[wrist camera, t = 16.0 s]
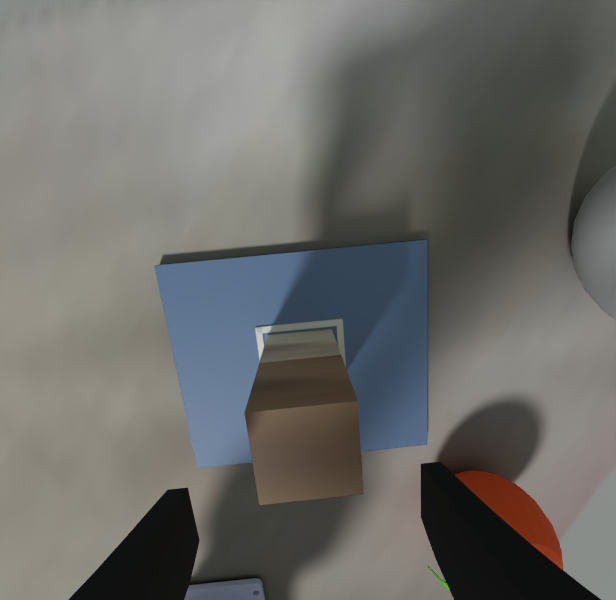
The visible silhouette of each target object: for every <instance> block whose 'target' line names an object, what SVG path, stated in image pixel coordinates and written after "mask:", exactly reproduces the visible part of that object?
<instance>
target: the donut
mask: <svg viewBox="0 0 616 600" xmlns="http://www.w3.org/2000/svg"><path fill="white" fill-rule="evenodd" d="M571 251H572V257H573V262H574V268H575V271H576V273H577V275H578V277H579V279H580V281H581V283H582V285H583V287H584V289H585V291H586V292H587V293H588V294H589V295H590V296H591V298H592V299H593V300H594V301H595V302H596V303H597V304H598V306H599V307H600V308H601V309H602V310H603V311H604V312H605V313H606V314H608V315H609V316H611V317H612V318H614V319H615V320H616V165H614V166H613V167H611V168H610V169H609V170H608V171H607V172H606V173H605V174H604V175H603V176H602V177H601V178H600V180H599V181H598V182H597V183H596V184H595V185H594V187H593V188H592V189H591V190H590V191H589V193H588V194H587V195H586V196H585V198H584V200H583V202H582V205H581V207H580V209H579V211H578V214H577V216H576V218H575V220H574V226H573V234H572V242H571Z"/></svg>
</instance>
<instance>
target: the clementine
mask: <svg viewBox="0 0 616 600" xmlns="http://www.w3.org/2000/svg"><path fill="white" fill-rule="evenodd" d="M455 476H456V477H457V478H458V479H460V480H461V481H462V482H463V483H464V484H465V485H466V486H467V487H468V488H469V489H470V490H471V491H472V492H473V493H474V494H475V495H477V496H478V497H479V498H480V499H481V500H482V501H483V502H484V503H485V504H486V505H487V506H488V507H490V508H491V509H492V510H493V511H494V512H495V513H496V514H497V515H498V516H500V517H501V518H502V519H503V520H504V521H505V522H506V523H508V524H509V525H510V526H511V527H512V528H513V529H514V530H515V531H517V532H518V533H519V534H520V535H521V536H522V537H524V538H525V539H526V540H527V541H528V542H529V543H531V544H532V545H533V546H534V547H535V548H536V549H538V550H539V551H540V552H541V553H542V554H544V555H545V556H546V557H547V558H549V559H550V560H551V561H552V562H553V563H555V564H556V565H557V566H558V567H559V568H561V569H562V570H563V562H562V553H561V548H560V544H559V541H558V538H557V536H556V533H555V531H554V529H553V526H552V524H551V523H550V521H549V520H548V518H547V517H546V516H545V514H544V513H543V511H542V510H541V509H540V507H539V506H538V504H537V503H536V501H535V500H534V499H533V498H531V497H530V496H529V495H528V494H527V493H526V492H525V491H524V490H523V489H521V488H520V487H518V486H517V485H516V484H514V483H513V482H511V481H509V480H507V479H505V478H504V477H502V476H499V475H496V474H494V473H490V472H485V471H477V470H470V471H463V472H460V473H458V474H455ZM428 567H429V566H428ZM429 569H430V570H431V571H432V572H433V574H434V575H435V576H436V577H437V579H438V580H439V581H440V582H441V584H442V585H444V586H445V587H446V588H447V589H449V587H448V585H447V583H446V582H445V581H443V580H441V579H440V578H439V577H438V575H437V574H436V573H435V572H434V571H433V570H432V569H431V568H430V567H429ZM449 590H450V589H449Z"/></svg>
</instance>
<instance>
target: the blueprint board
mask: <svg viewBox="0 0 616 600" xmlns="http://www.w3.org/2000/svg"><path fill="white" fill-rule="evenodd" d="M155 271H156V276H157V280H158V285H159V290H160V295H161V299H162V304H163V309H164V313H165V318H166V323H167V328H168V332H169V337H170V342H171V347H172V351H173V356H174V361H175V366H176V370H177V375H178V380H179V384H180V389H181V394H182V399H183V403H184V408H185V413H186V418H187V422H188V427H189V432H190V436H191V441H192V446H193V451H194V455H195V460H196V465H197V468H203V467H213V466H223V465H232V464H242V463H252V457H251V451H250V445H249V439H248V432H247V426H246V420H245V414H244V412H245V409H246V405H247V402H248V399H249V396H250V392H251V389H252V386H253V382H254V379H255V376H256V373H257V369H258V366H259V361H260V358H261V355H262V352H263V348H264V345H265V342H266V339H267V335H273V334H283V333H294V332H304V331H314V330H324V329H332V331H333V334H334V337H335V340H336V343H337V345H338V348H339V351H340V354H341V355H342V358H343V361H344V364H345V367H346V370H347V372H348V375H349V378H350V381H351V384H352V387H353V389H354V392H355V395H356V398H357V401H358V415H359V431H360V447H361V451H370V450H380V449H389V448H399V447H409V446H419V445H427V275H428V240H415V241H404V242H393V243H383V244H372V245H362V246H351V247H340V248H330V249H319V250H309V251H298V252H288V253H277V254H266V255H256V256H245V257H235V258H224V259H213V260H203V261H192V262H182V263H171V264H160V265H155Z"/></svg>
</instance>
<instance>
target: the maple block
mask: <svg viewBox="0 0 616 600" xmlns="http://www.w3.org/2000/svg"><path fill="white" fill-rule="evenodd" d="M334 355H341V354H340V351H339V348H338V345H337V343H336V340H335V337H334V334H333V331H332V329H324V330H314V331H304V332H294V333H283V334H273V335H267V339H266V342H265V345H264V348H263V352H262V355H261V358H260V361H259V363H265V362H275V361H285V360H294V359H304V358H314V357H324V356H334Z"/></svg>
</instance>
